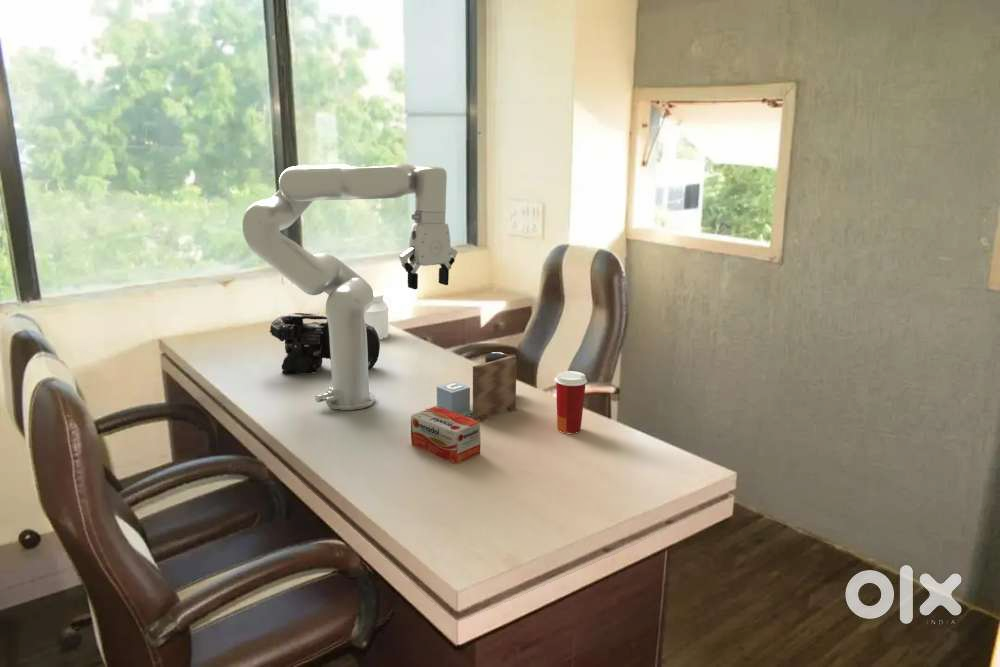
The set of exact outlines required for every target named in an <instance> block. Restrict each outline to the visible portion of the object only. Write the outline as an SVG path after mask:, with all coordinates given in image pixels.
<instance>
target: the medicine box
mask: <svg viewBox="0 0 1000 667" xmlns="http://www.w3.org/2000/svg"><path fill="white" fill-rule="evenodd" d="M434 406H435V407H433V406H432V407H433V408H430V407H429V408H430V409H427V408H426V409H427V410H426V409H425V410H421V411H419V412H416V413H414V414H411V417H410V440H411V446H412V447H414V448H416V449H419V450H421V451H423V452H425V453H428V454H430V455H432V456H434V457H437V458H439V459H442V460H444V461H446V462H448V463H451V464H453V465H458V464H460V463H463V462H465V461H467V460H468V459H472V458H474V457H476V456H478V455H480V454H481V443H482V442H481V420H474V419H473V417H469V416H467V417H466V416H463V415H461V414H458V413H455V412H452V411H450V410H447V409H444V408H441V407H438V406H436V405H434Z"/></svg>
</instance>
